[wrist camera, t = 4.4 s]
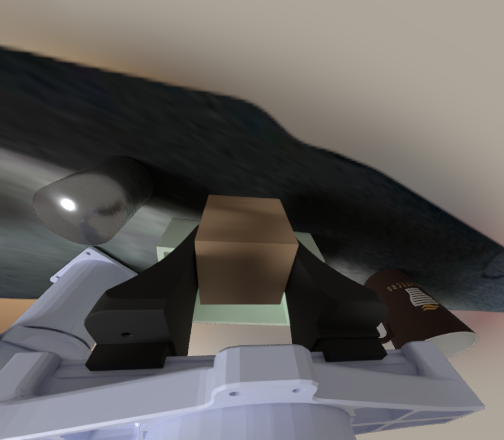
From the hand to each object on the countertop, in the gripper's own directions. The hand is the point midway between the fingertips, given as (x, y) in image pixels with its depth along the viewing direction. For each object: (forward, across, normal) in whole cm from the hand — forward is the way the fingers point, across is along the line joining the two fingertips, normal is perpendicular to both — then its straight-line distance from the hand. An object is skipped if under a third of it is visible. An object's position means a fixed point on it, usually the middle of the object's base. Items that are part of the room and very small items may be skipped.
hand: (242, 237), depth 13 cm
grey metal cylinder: (+8, +12, 0) cm, 14 cm away
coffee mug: (+8, -23, +14) cm, 29 cm away
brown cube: (+1, 0, 0) cm, 1 cm away
